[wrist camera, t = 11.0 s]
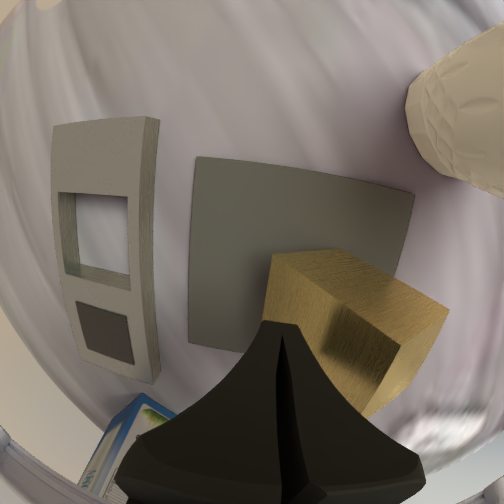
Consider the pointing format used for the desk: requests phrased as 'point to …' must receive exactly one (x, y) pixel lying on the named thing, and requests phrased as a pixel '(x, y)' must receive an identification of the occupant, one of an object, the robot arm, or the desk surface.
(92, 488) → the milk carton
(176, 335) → the desk surface
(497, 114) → the white cup
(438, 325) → the brass rectangular block
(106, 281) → the grey plate with hole
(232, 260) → the mat
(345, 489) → the robot arm
